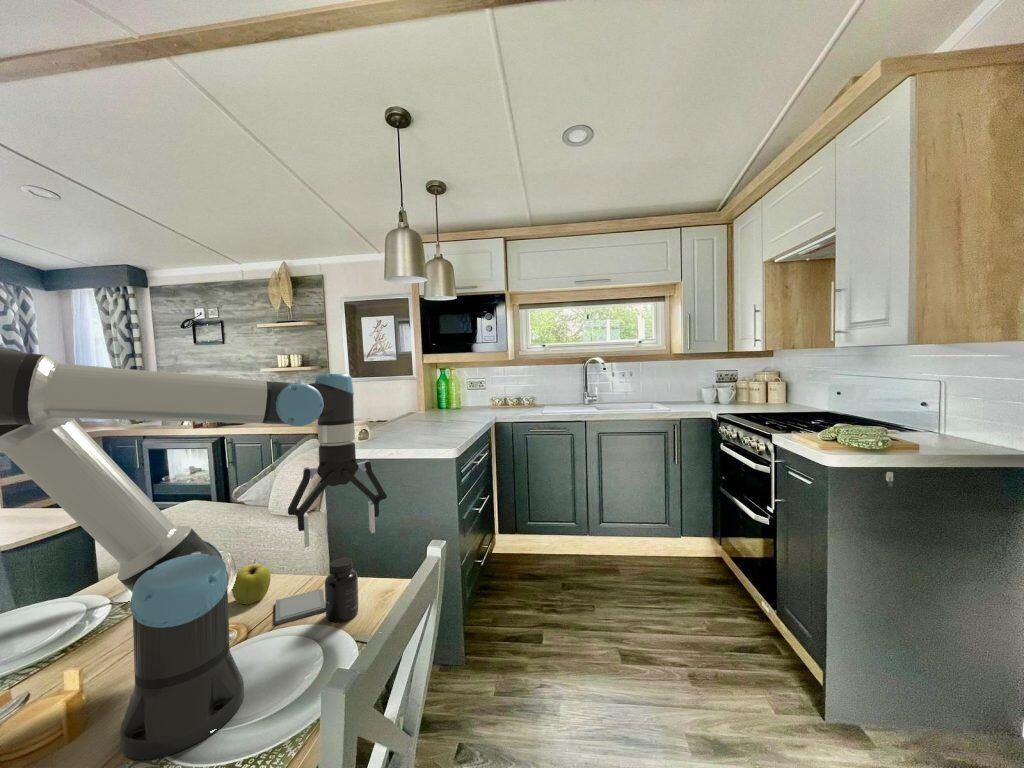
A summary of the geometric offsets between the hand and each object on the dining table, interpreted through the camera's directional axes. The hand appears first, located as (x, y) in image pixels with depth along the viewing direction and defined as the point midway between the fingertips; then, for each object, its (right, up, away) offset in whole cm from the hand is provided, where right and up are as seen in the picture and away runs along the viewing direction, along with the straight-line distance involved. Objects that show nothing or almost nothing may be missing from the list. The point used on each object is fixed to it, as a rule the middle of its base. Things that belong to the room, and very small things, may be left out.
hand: (340, 537), depth 92 cm
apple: (-25, -18, +8) cm, 32 cm away
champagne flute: (-58, -19, +11) cm, 62 cm away
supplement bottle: (0, -18, 0) cm, 18 cm away
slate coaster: (-11, -18, +4) cm, 21 cm away
